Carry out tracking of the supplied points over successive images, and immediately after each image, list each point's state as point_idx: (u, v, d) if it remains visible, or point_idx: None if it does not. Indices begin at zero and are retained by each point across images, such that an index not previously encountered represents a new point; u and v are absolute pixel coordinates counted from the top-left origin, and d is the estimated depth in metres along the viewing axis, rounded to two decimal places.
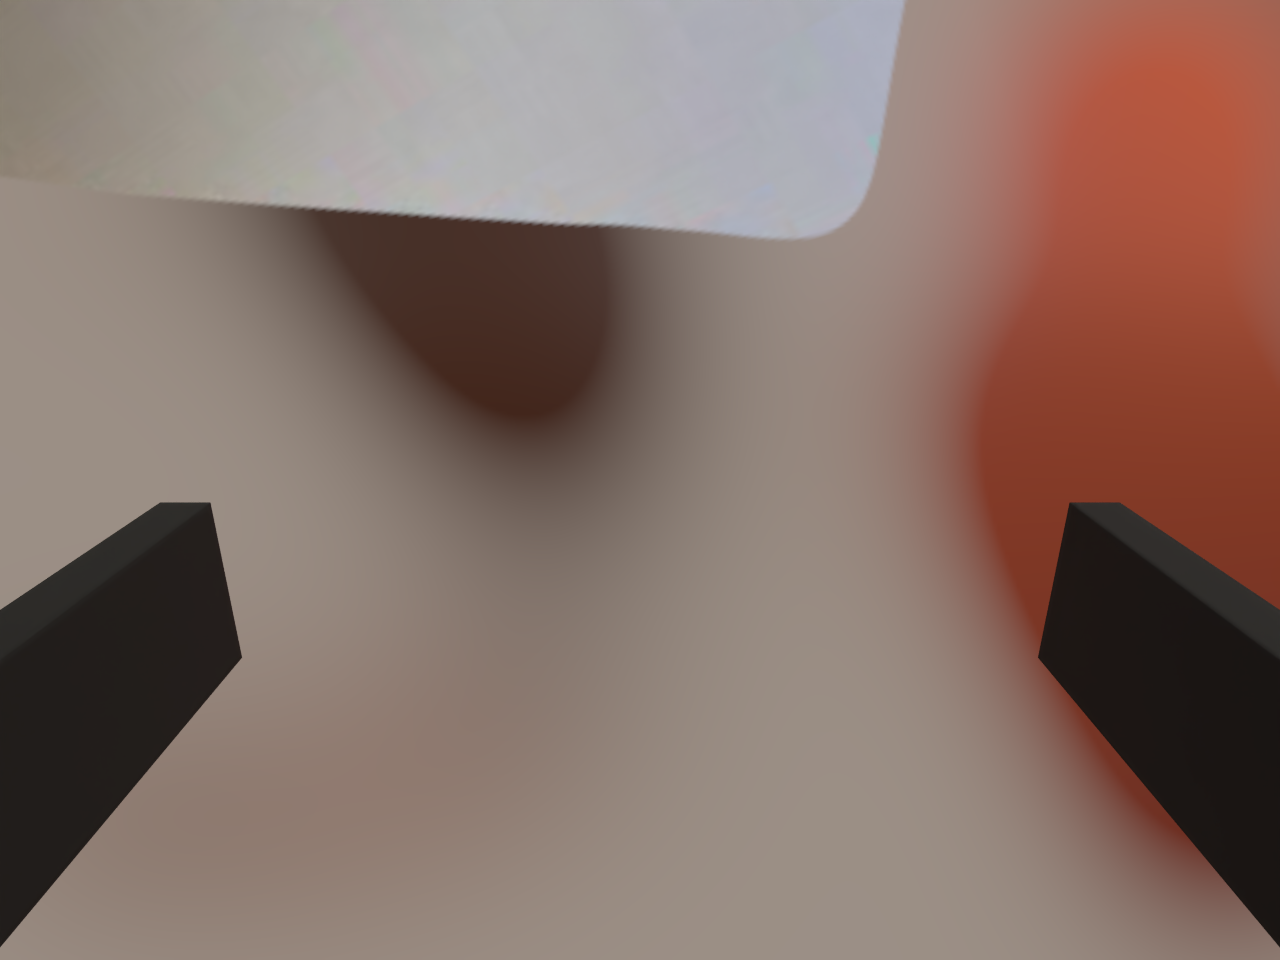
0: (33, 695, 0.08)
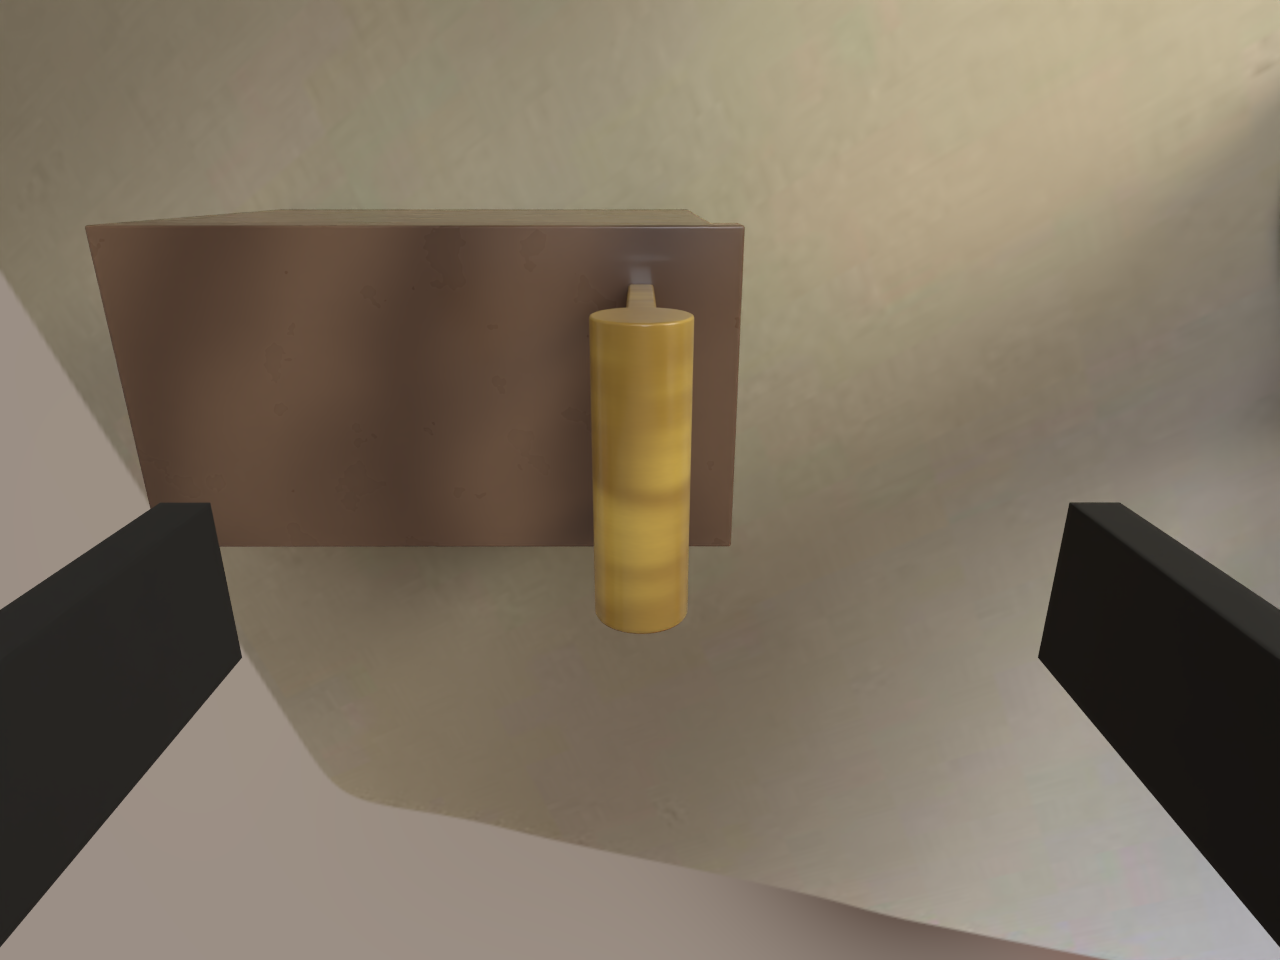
0: (33, 695, 0.08)
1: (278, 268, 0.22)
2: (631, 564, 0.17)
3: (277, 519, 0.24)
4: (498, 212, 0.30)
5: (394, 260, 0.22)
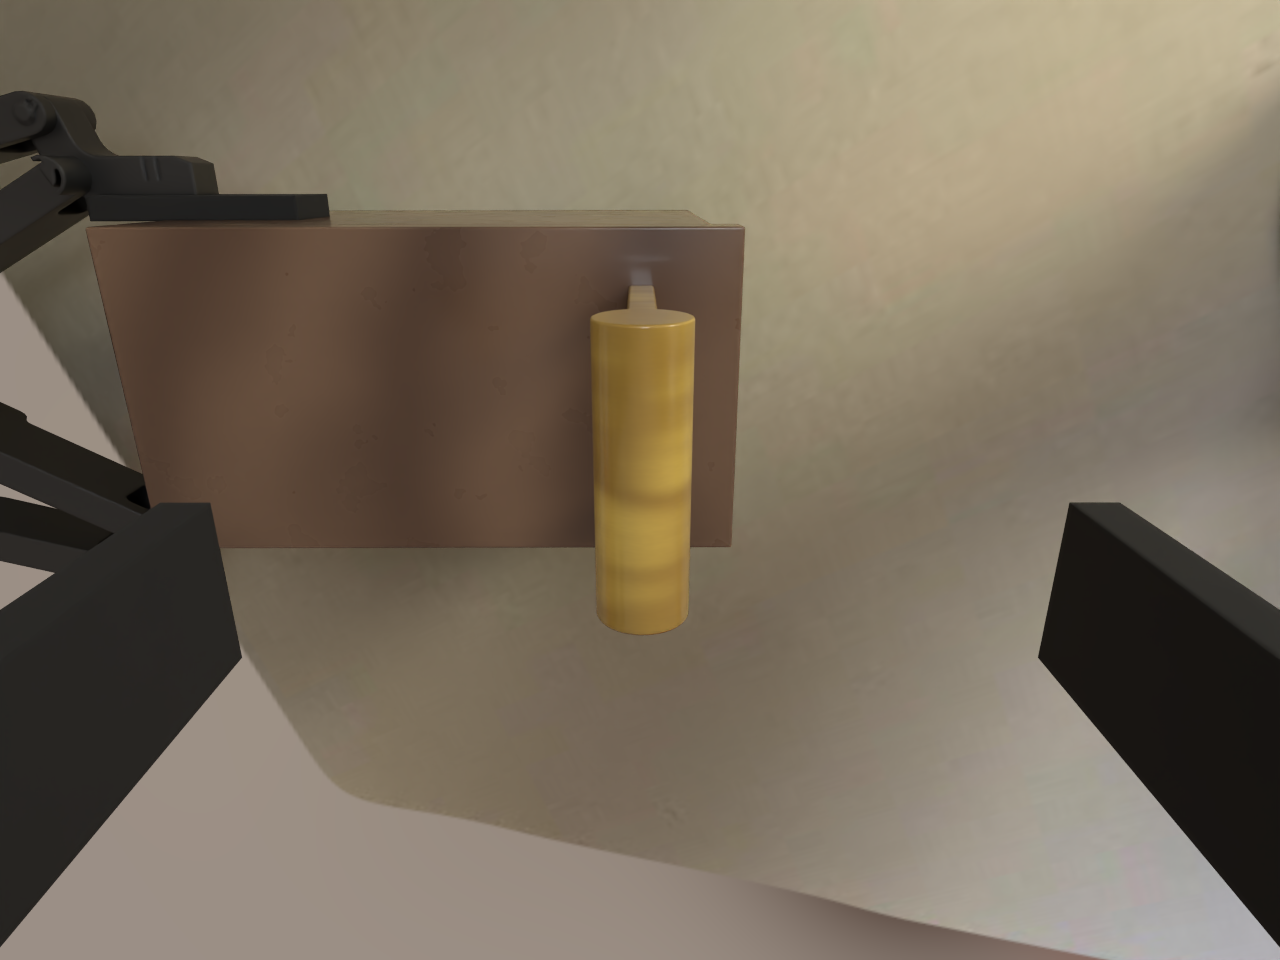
0: (33, 695, 0.08)
1: (279, 270, 0.22)
2: (632, 565, 0.17)
3: (278, 520, 0.24)
4: (498, 213, 0.30)
5: (395, 261, 0.22)
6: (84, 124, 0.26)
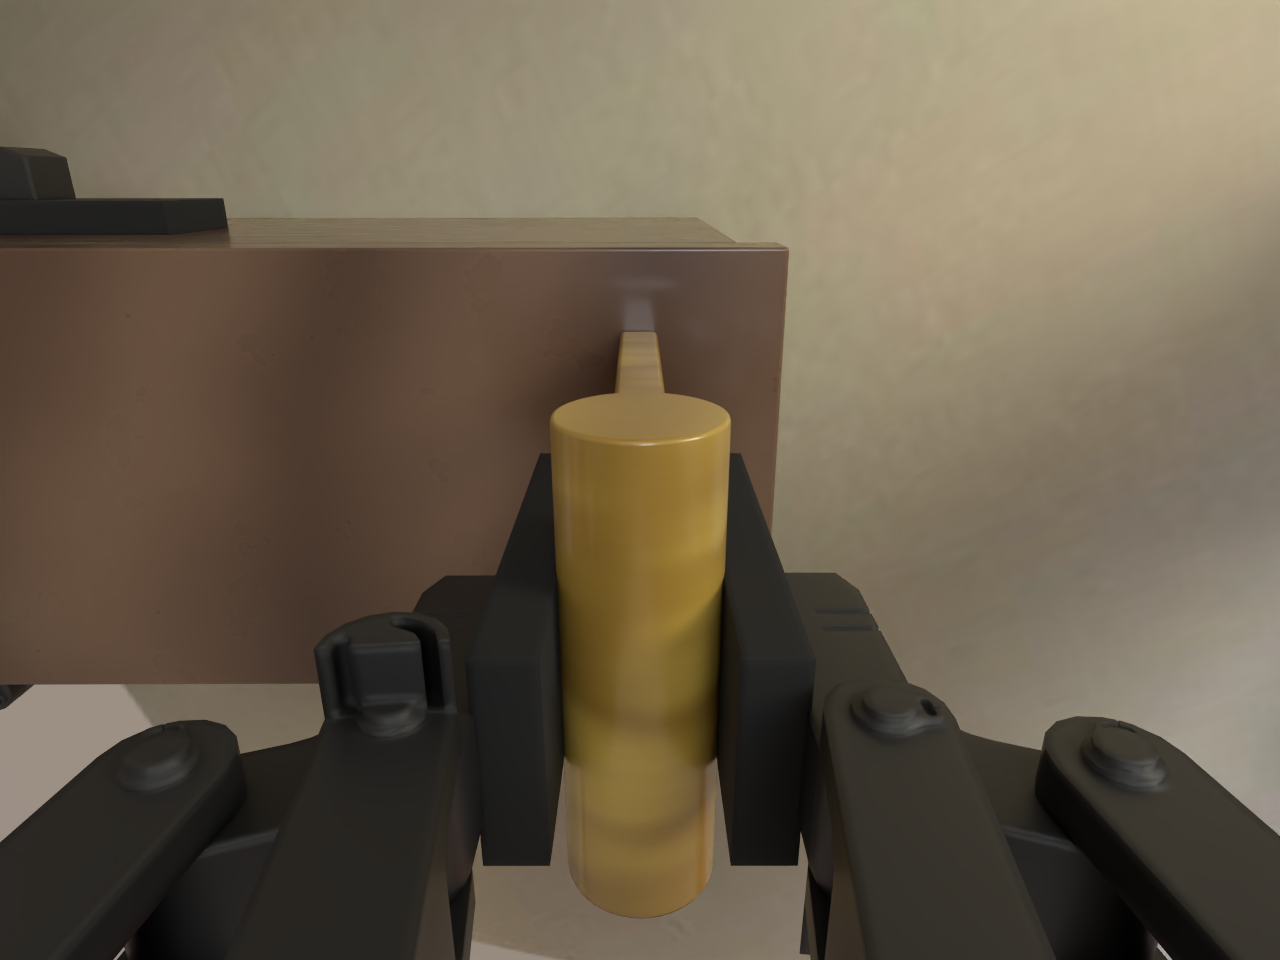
0: None
1: (116, 309, 0.15)
2: (624, 819, 0.10)
3: (139, 649, 0.18)
4: (455, 222, 0.23)
5: (283, 298, 0.15)
6: None
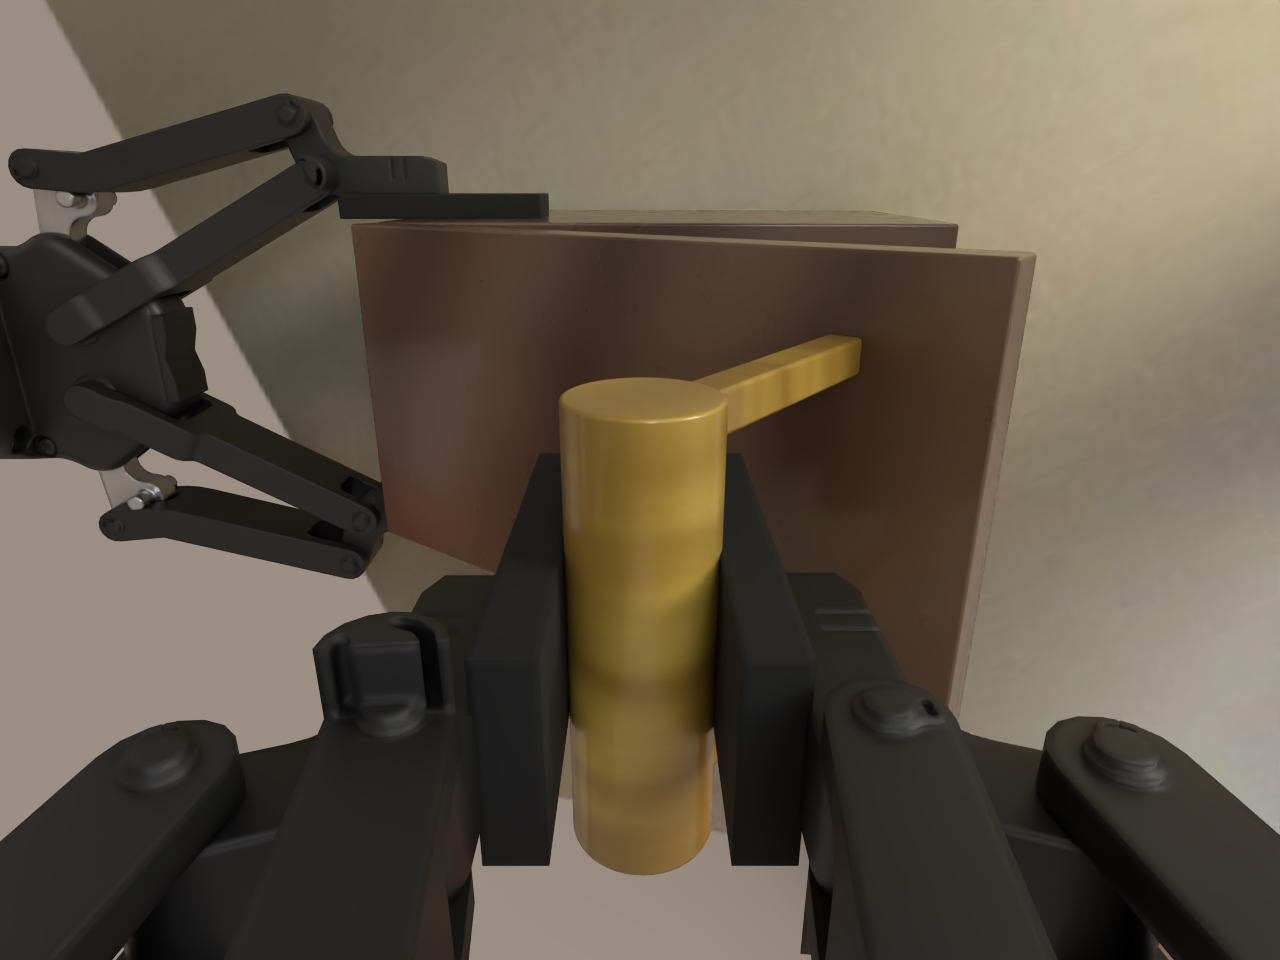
0: (562, 590, 0.11)
1: (476, 276, 0.20)
2: (586, 763, 0.11)
3: (465, 534, 0.23)
4: (697, 213, 0.30)
5: (571, 276, 0.18)
6: (328, 125, 0.27)
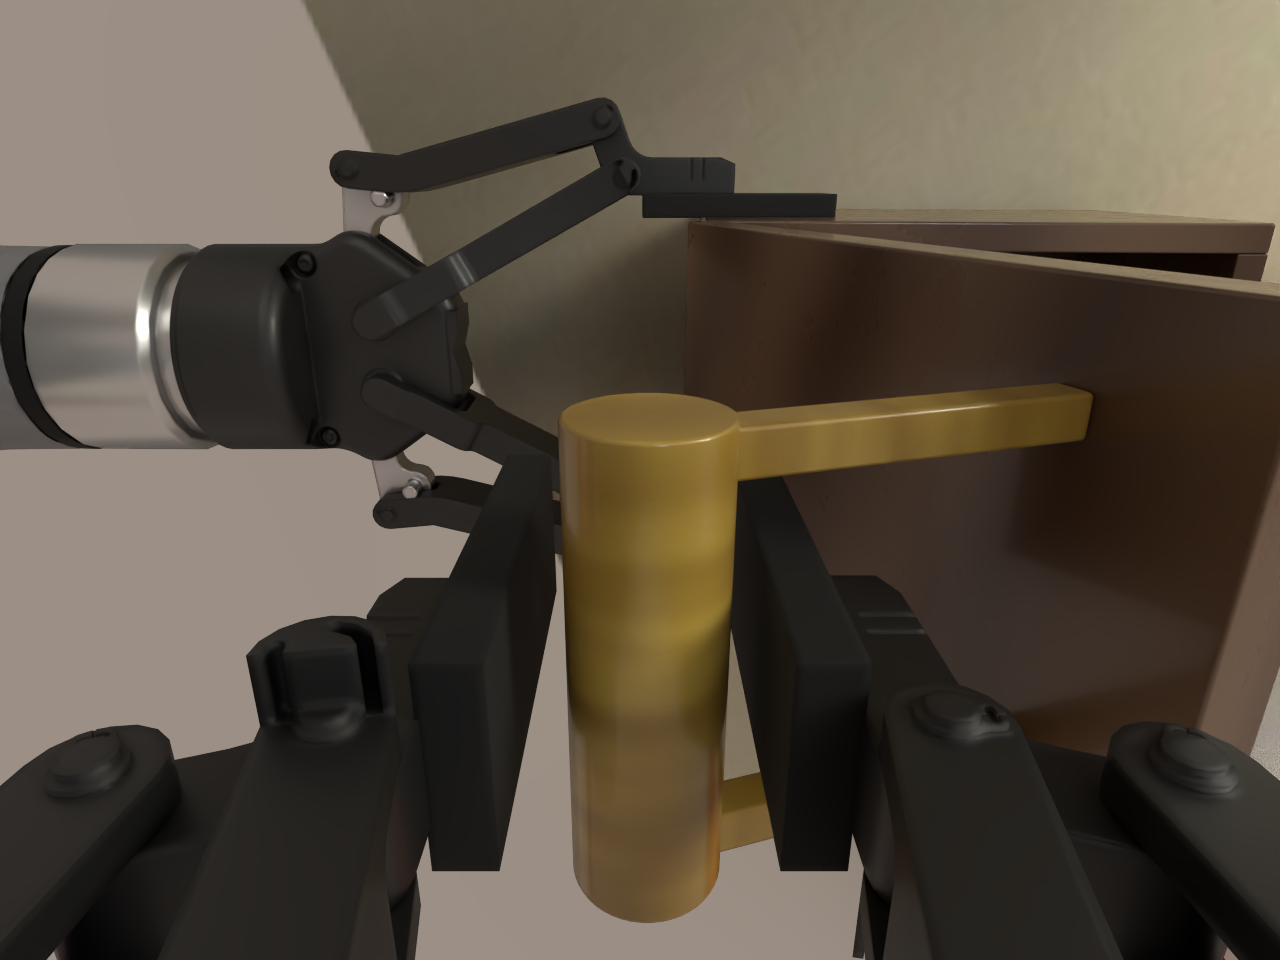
0: (521, 593, 0.11)
1: (761, 278, 0.20)
2: (570, 773, 0.11)
3: None
4: (945, 212, 0.31)
5: (829, 285, 0.17)
6: None
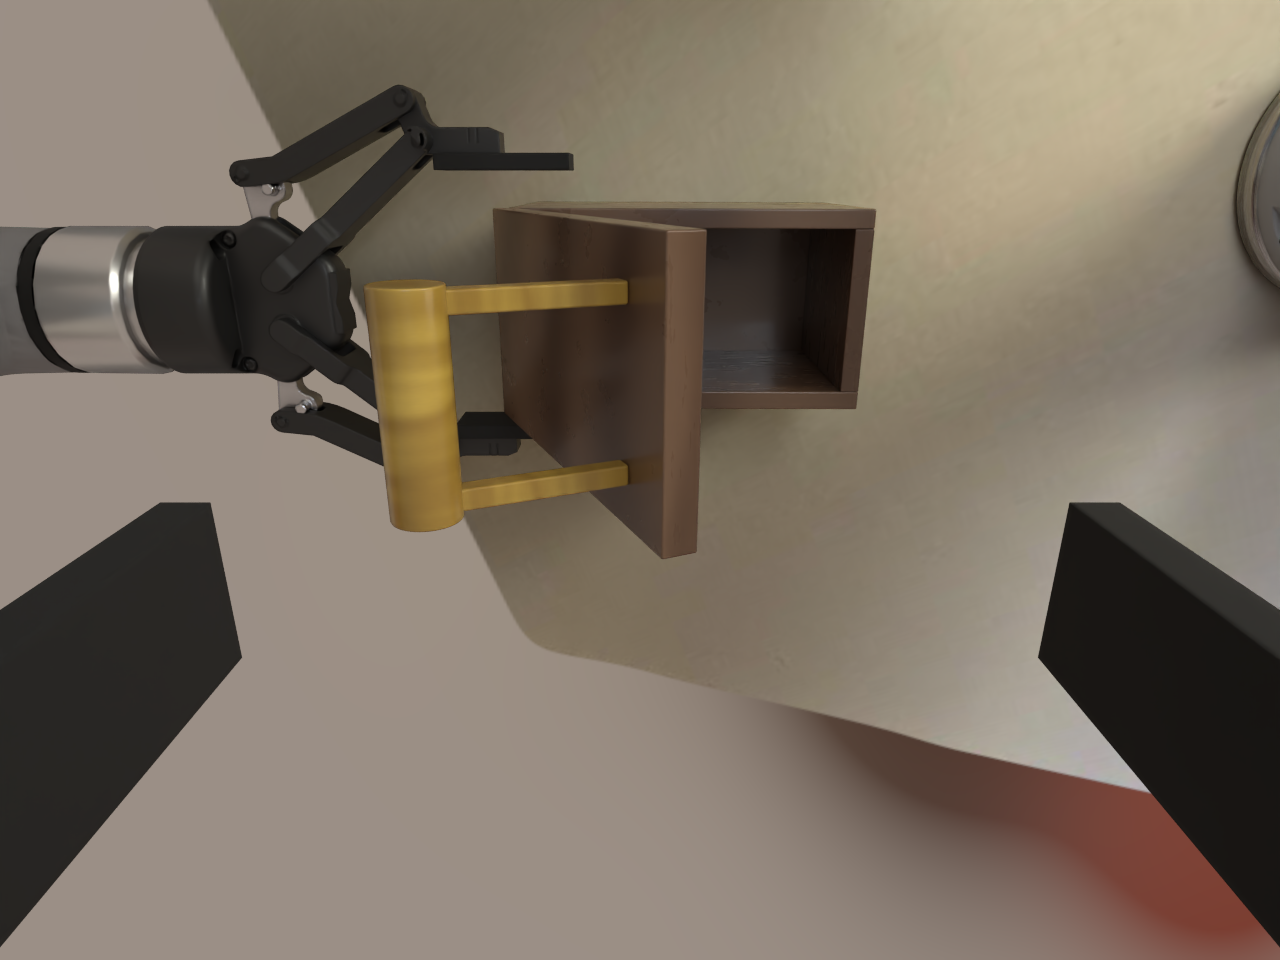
0: (33, 695, 0.08)
1: (526, 242, 0.32)
2: (384, 466, 0.23)
3: (526, 414, 0.35)
4: None
5: (551, 241, 0.29)
6: (424, 107, 0.39)
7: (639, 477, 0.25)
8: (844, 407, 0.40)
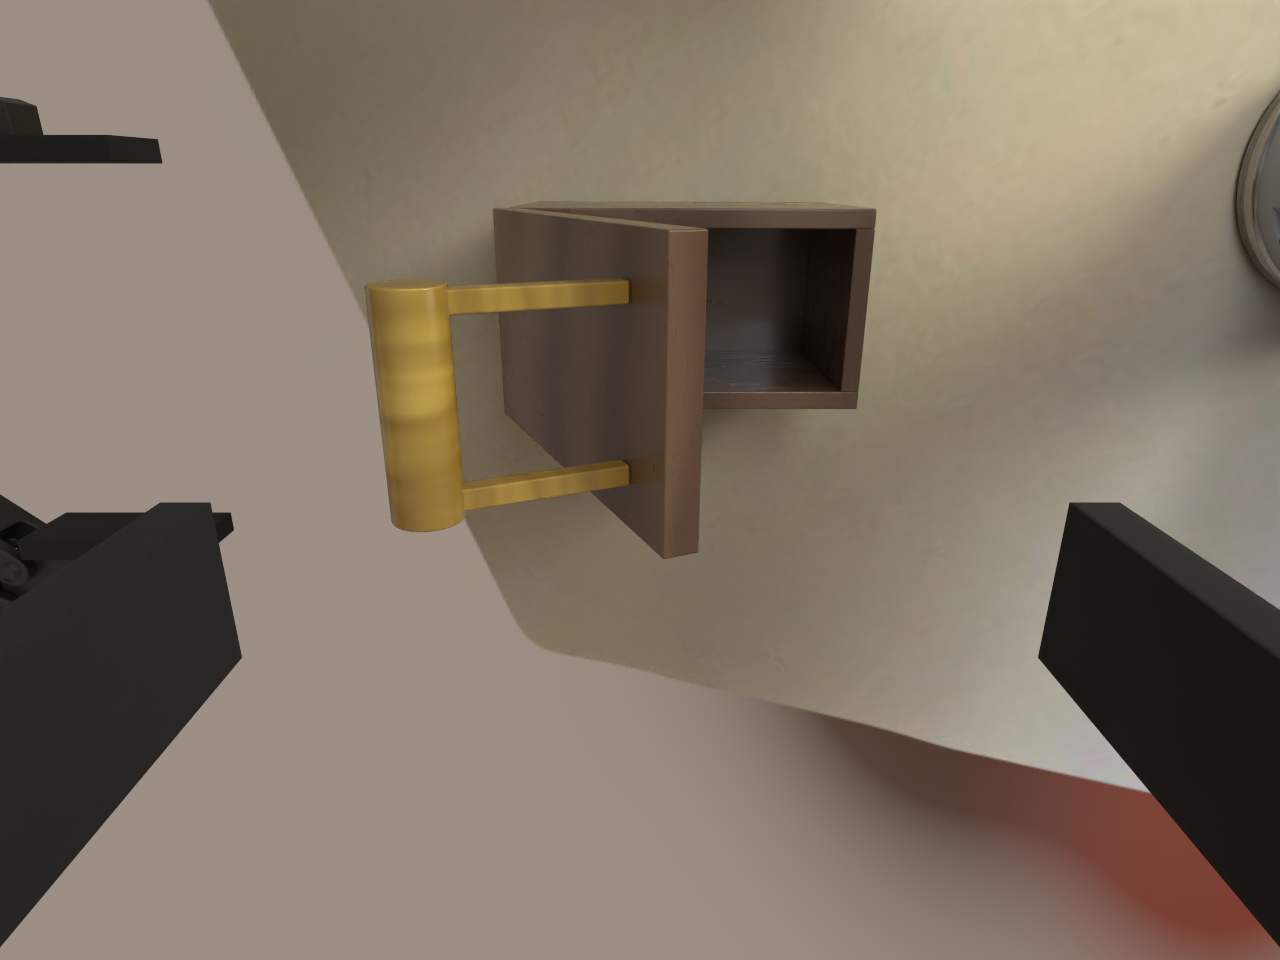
0: (33, 695, 0.08)
1: (527, 241, 0.32)
2: None
3: (526, 414, 0.35)
4: None
5: (552, 241, 0.29)
6: None
7: (640, 477, 0.25)
8: (844, 407, 0.40)
